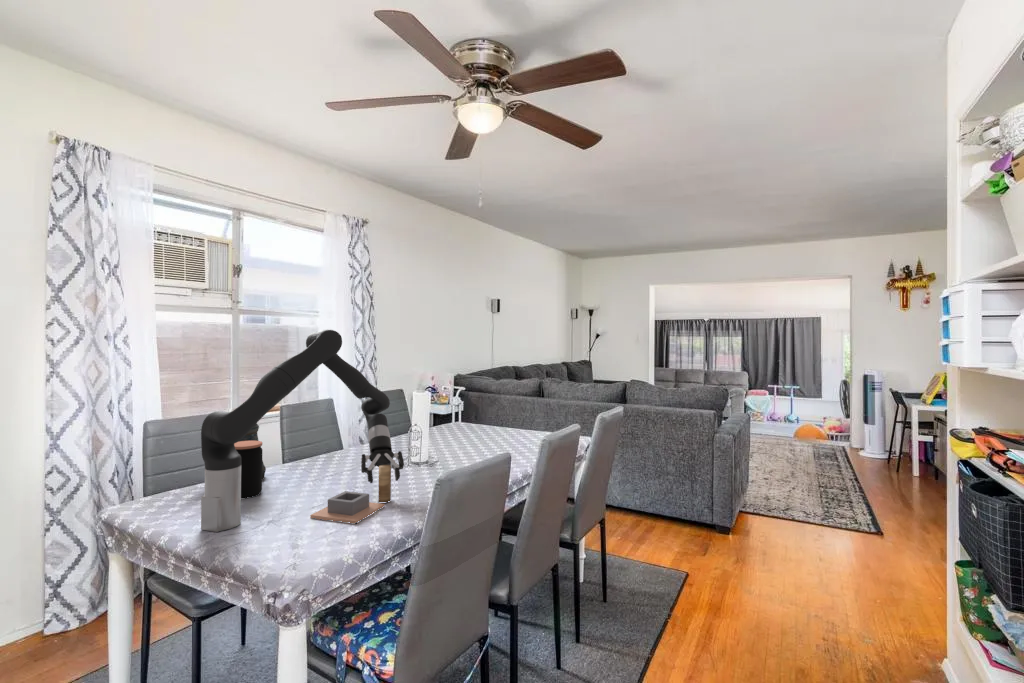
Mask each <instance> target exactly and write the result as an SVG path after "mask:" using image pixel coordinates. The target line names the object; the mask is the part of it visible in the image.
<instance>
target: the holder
mask: <svg viewBox="0 0 1024 683" xmlns="http://www.w3.org/2000/svg"><path fill="white" fill-rule="evenodd" d="M383 506H386V503H379V502H371V501H370V493H366V492H356V491H355V492H354V491H347V490H345V491H343V492H341V493H338V494H336V495H335V496H332V497H330V498H328V499H327V506H326V507H324V508H322V509H320V510H317V511H315V512H313V513H312V514H310V519H312V518H316V519H315V520H320V519H323V520H322V521H327V520H333V521H332V522H335V521H342V522H350V523H356V522H358V521H360V520H362V519H363V518H365V517H367V516H368V515H370V514H372V513H373V512H375V511H377V510H378V509H380V508H382V507H383ZM382 509H383V508H382ZM377 512H378V511H377ZM372 515H373V514H372ZM370 516H371V515H370ZM367 518H368V517H367ZM365 519H366V518H365ZM362 521H363V520H362ZM342 522H341V523H342ZM360 522H361V521H360ZM350 523H349V524H350Z"/></svg>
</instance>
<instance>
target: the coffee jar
mask: <svg viewBox="0 0 1024 683" xmlns="http://www.w3.org/2000/svg"><path fill="white" fill-rule="evenodd" d="M234 446H235V449H236V451H237V452H238V453H239V454H240V456H241V498H245V499H248V498H247V497H251V498H253V497H252V496H255V497H257V496H259V495H260V494H261V492H262V491H263V479H262V460H263V448H262V446H263V442H262V441H260V440H258V441H240V442H237V443H234ZM259 493H260V494H259ZM258 494H259V495H258ZM256 495H257V496H256Z"/></svg>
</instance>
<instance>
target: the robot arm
mask: <svg viewBox="0 0 1024 683" xmlns="http://www.w3.org/2000/svg"><path fill="white" fill-rule="evenodd" d="M342 345H343V338H342V335H341V334H340V333H339V332H338V331H336V330H334V329H323V330H319V331H318V330H317V331H314V332H312V333H310V334H309V335H308V336H307V338H306V340H305V346H306V348H305V349H303V350H302V351H301V352H299V353H297V354H295V355H293V356H291V357H289V358H288V359H285V360H284V361H282V362H280V363H279V364H277V365H275V366H274V367H273V368H272V369H271V370H269V371H268V372H267V373H265V375H263V376H262V377H261V379H260V380H259V381H258V382H257V384H256V385H255V388H254V390H253V391H252V394H251V395H250V396H249V397H248V398H247V399H246V400H245V401H244V402H243V403H241V404H240V405H238V407H236V408H235V409H233V410H231V411H225V410H224V411H223V410H218V411H217V410H216V411H213V412H211V413H209V414H208V415H207V416H206V417H205V418H204V419H203V422H202V424H201V429H200V443H201V444H200V445H201V458H202V460H203V463H204V494H203V495H202V496H201V497H200V500H201V502H200V504H201V505H200V530H203V531H208V532H214V533H219V532H222V531H225V530H226V531H227V530H230V529H234V528H235V527H238V526H239V525H240V524H241V522H242V521H241V520H242V516H241V514H242V499H241V456H240V454H239V453H238V452H237V451H236V449H235V446H234V443H237V442H238V441H240V440H241V439H242V438H243V437H244V436H245V435H246V434H247V433H248V432H249V431H250V430H251V429H252V428H253V427H254V426H255V424H256V423H257V424H258V423H259V421H260V420H261V419H262V418H263V417H264V416H265V415H266V414H267V413H269V411H271V410H272V409H273V408H274V407H275V406H276V405H277V404H280V402H281V401H282V400H283V399H285V398H286V397H287V396H288V395H289V394H291V392H292V391H294V390H295V389H296V388H297V387H298V386H299V385H300V384H301V383H302V382H303V381H304V380H305V379H307V377H309V376H310V375H311V374H312V373H313V372H314V371H315V370H316V369H317V368H318V367H319V366H321V365H322V364H323V365H324V366H325V367H326V368H328V370H330V372H332V373H333V374H334V375H335V376H337V378H338V379H339V380H340V381H341V382H342V383H343V384H344V385H345V386H346V387H347V388H348V389H349V391H350V392H351V393H352V394H353V395H354V397H355V398H357V399H364V400H363V401H362V403H361V405H360V408H361V411H362V414H363V415H364V417H365V420H366V422H367V428H368V444H369V445H368V447H369V455H366V454H365V453H363V454H361V459H360V461H361V462H360V465H361V467H360V468H361V469H360V470H361V473H362V474H364V473H366V474H367V481H368V482H369V484H373V482H374V478H373V477H374V476H373V470H374V469H375V468H376V467H377V468H379V466H380V465H391V469H393V470H394V478H395V482H396V481H397V482H398V481H399V479H400V476H401V472H400V470H403V469H404V466H405V462H404V458H403V453H402V451H400V450H399V451H398V452H393V448H392V440H391V433H390V430H389V423H388V418H387V416H386V415H385V414H383V413H382V412H385V411H386V410H387V409H389V407H390V404H391V401H390V398H389V397H388V396H387V394H386V393H384V392H383V391H382V390H381V389H378V388H377V387H376V386H374V385H373V384H371V383H370V382H369V380H368V379H367V377H365V376H364V374H363V373H362V372H361V371H360V370H358V369H357V368H356V367H354V366H353V365H351V364H350V363H348V362H347V361H346V360H344V359H343V358H342V357H341V356H339V354H338V353H339V351H340V350H341V348H342ZM394 458H395V459H396V460H397V461H398V462H396V460H394ZM368 460H369V461H370V465H369V466H367V462H368Z"/></svg>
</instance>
